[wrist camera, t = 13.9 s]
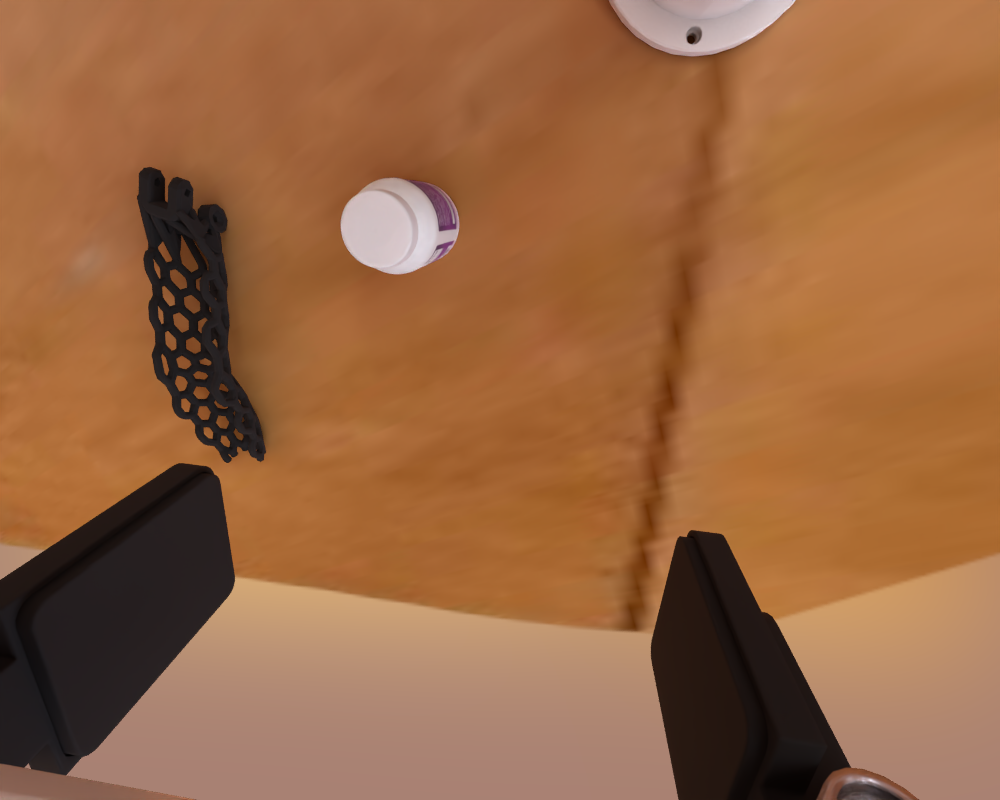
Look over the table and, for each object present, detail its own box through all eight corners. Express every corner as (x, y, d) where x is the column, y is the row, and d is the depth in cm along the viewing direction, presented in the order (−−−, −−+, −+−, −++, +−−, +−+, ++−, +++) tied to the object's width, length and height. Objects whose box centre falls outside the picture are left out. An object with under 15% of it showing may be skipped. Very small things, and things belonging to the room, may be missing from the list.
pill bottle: (388, 177, 34) (327, 166, 25) (464, 188, 34) (428, 181, 25) (385, 257, 36) (326, 273, 27) (456, 268, 36) (420, 288, 27)
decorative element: (284, 451, 43) (245, 486, 38) (230, 450, 44) (184, 485, 38) (223, 170, 35) (162, 162, 30) (158, 173, 36) (87, 166, 31)
